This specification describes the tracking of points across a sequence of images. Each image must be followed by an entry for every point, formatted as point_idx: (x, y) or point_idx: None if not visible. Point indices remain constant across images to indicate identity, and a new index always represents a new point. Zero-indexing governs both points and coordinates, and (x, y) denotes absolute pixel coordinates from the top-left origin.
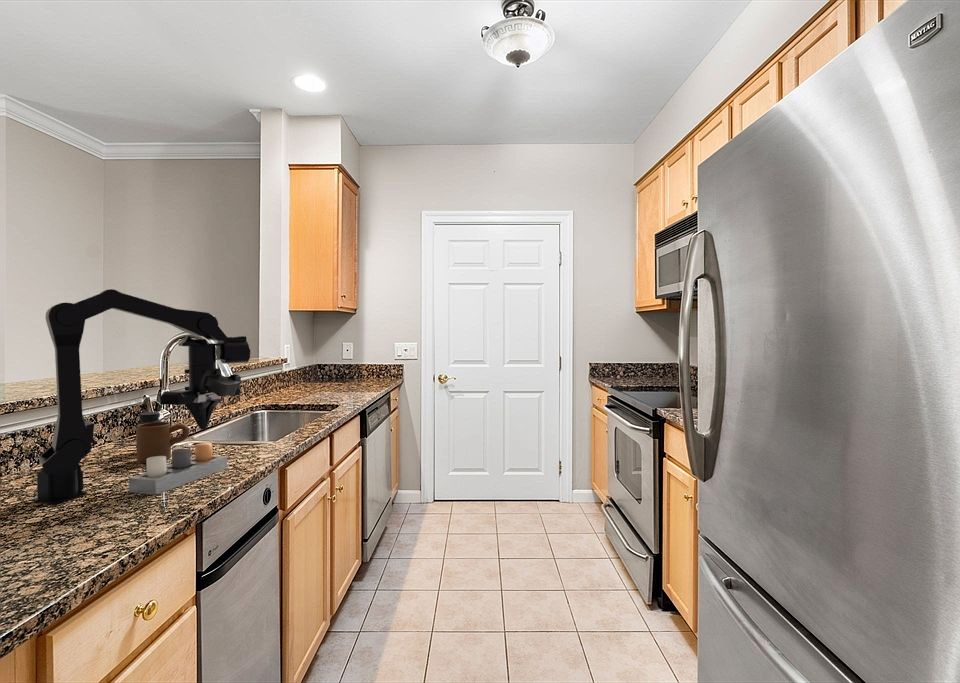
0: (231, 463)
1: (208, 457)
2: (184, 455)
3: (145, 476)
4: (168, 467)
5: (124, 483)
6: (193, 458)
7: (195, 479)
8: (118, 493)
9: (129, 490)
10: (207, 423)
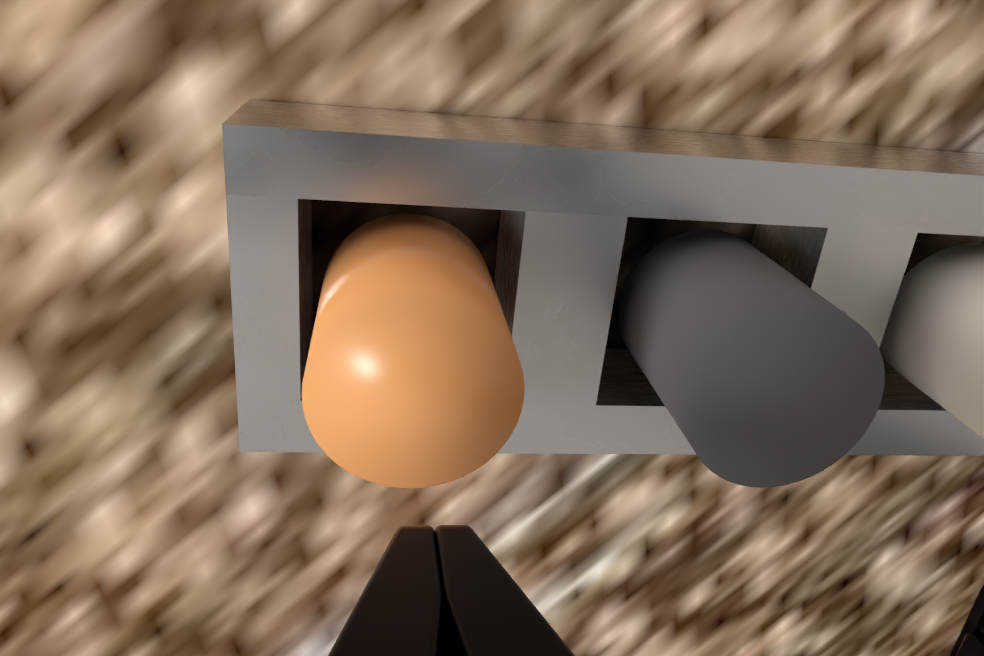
0: (55, 196)
1: (440, 237)
2: (829, 302)
3: None
4: None
5: (767, 573)
6: None
7: (681, 132)
8: None
9: None
10: (388, 588)
